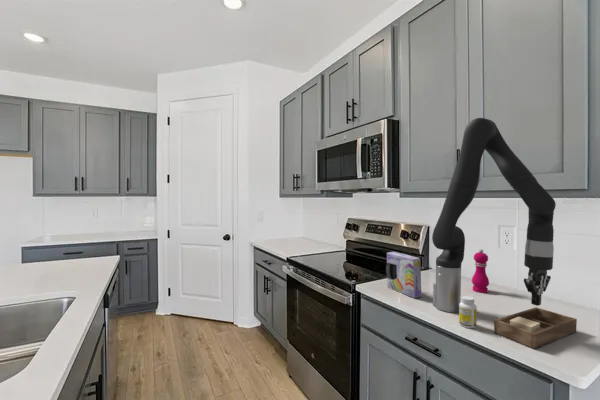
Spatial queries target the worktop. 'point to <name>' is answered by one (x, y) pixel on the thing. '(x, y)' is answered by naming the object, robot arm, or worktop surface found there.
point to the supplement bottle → (467, 312)
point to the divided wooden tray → (550, 331)
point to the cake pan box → (404, 274)
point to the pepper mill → (480, 273)
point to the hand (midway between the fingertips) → (535, 304)
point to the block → (525, 324)
